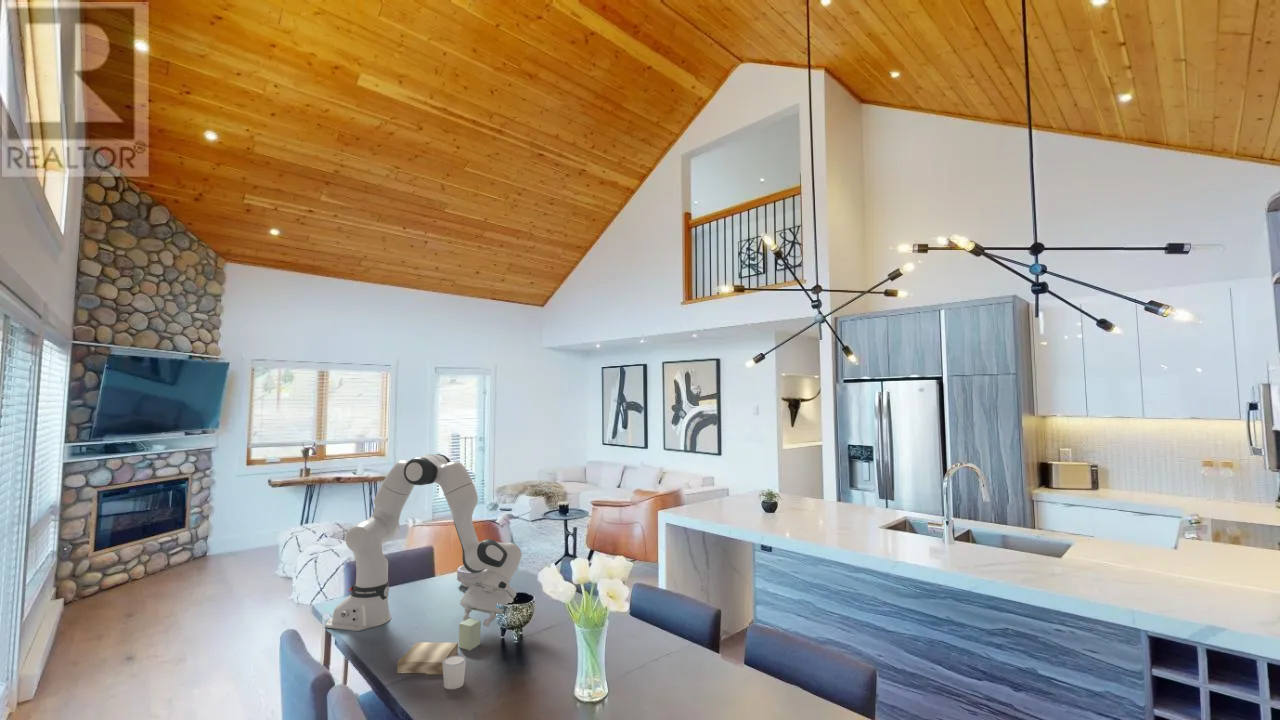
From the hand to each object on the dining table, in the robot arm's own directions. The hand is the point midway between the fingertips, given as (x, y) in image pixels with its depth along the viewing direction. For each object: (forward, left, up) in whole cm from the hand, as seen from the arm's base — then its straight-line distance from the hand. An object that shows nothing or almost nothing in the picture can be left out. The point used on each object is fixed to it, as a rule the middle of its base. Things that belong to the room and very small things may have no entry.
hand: (475, 623), depth 195 cm
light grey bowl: (-20, +61, -7) cm, 64 cm away
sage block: (-1, -2, -7) cm, 7 cm away
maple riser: (-10, -15, -7) cm, 20 cm away
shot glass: (+3, -28, -7) cm, 29 cm away
